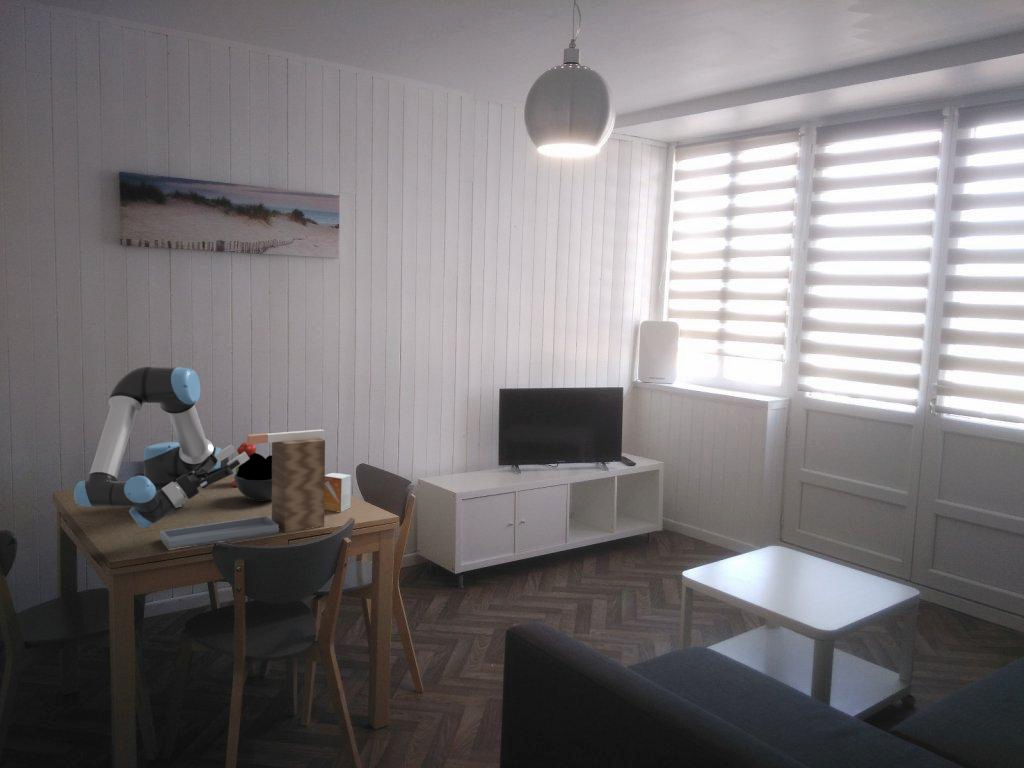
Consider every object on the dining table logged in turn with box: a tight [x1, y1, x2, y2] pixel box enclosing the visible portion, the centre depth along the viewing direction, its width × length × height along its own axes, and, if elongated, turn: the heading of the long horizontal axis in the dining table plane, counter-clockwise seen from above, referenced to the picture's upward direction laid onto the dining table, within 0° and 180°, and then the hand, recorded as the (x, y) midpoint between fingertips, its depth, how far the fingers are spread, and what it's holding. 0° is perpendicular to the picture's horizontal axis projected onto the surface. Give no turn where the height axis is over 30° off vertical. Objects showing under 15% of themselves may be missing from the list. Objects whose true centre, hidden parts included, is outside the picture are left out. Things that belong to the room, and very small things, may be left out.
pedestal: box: [271, 438, 326, 533], centre depth 262 cm, size 14×12×30 cm
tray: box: [159, 515, 280, 549], centre depth 248 cm, size 34×12×3 cm, turn 127°
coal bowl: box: [233, 452, 272, 502], centre depth 293 cm, size 20×20×19 cm
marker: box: [246, 428, 326, 445], centre depth 258 cm, size 26×3×3 cm, turn 127°
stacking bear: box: [230, 441, 257, 487], centre depth 316 cm, size 11×10×18 cm
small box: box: [324, 472, 352, 513], centre depth 284 cm, size 8×6×13 cm
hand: (240, 451), depth 249 cm, fingers open, 13 cm apart
